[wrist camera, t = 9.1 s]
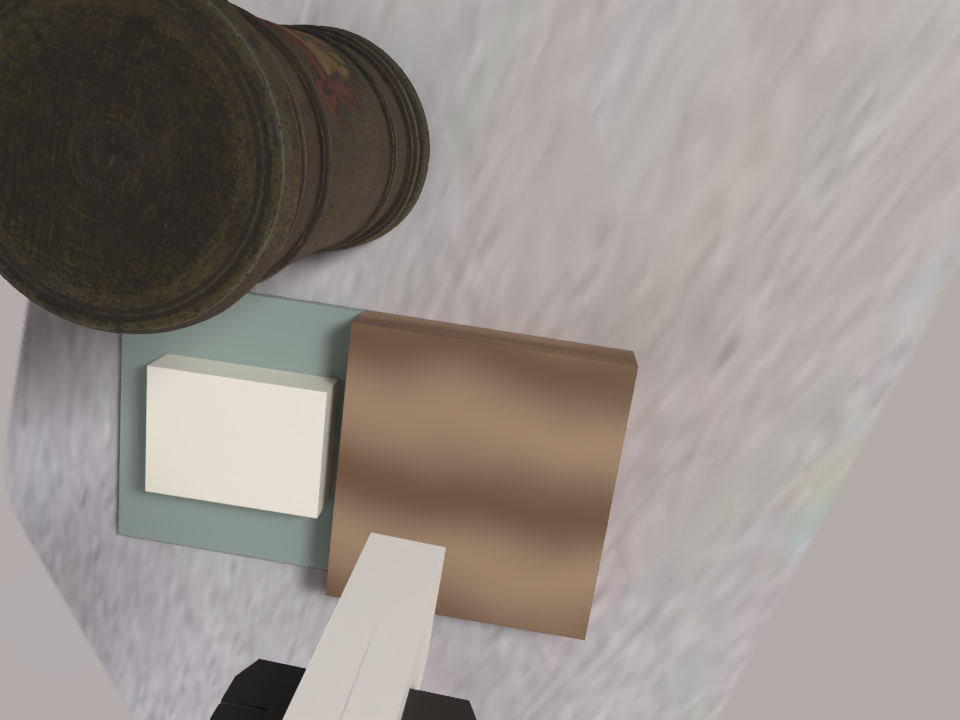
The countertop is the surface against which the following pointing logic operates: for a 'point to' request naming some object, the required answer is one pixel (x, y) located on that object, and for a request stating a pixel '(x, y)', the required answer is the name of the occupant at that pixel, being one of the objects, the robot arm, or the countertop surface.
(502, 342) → the board
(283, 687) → the robot arm
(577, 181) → the countertop surface
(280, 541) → the mat
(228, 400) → the block
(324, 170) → the container
